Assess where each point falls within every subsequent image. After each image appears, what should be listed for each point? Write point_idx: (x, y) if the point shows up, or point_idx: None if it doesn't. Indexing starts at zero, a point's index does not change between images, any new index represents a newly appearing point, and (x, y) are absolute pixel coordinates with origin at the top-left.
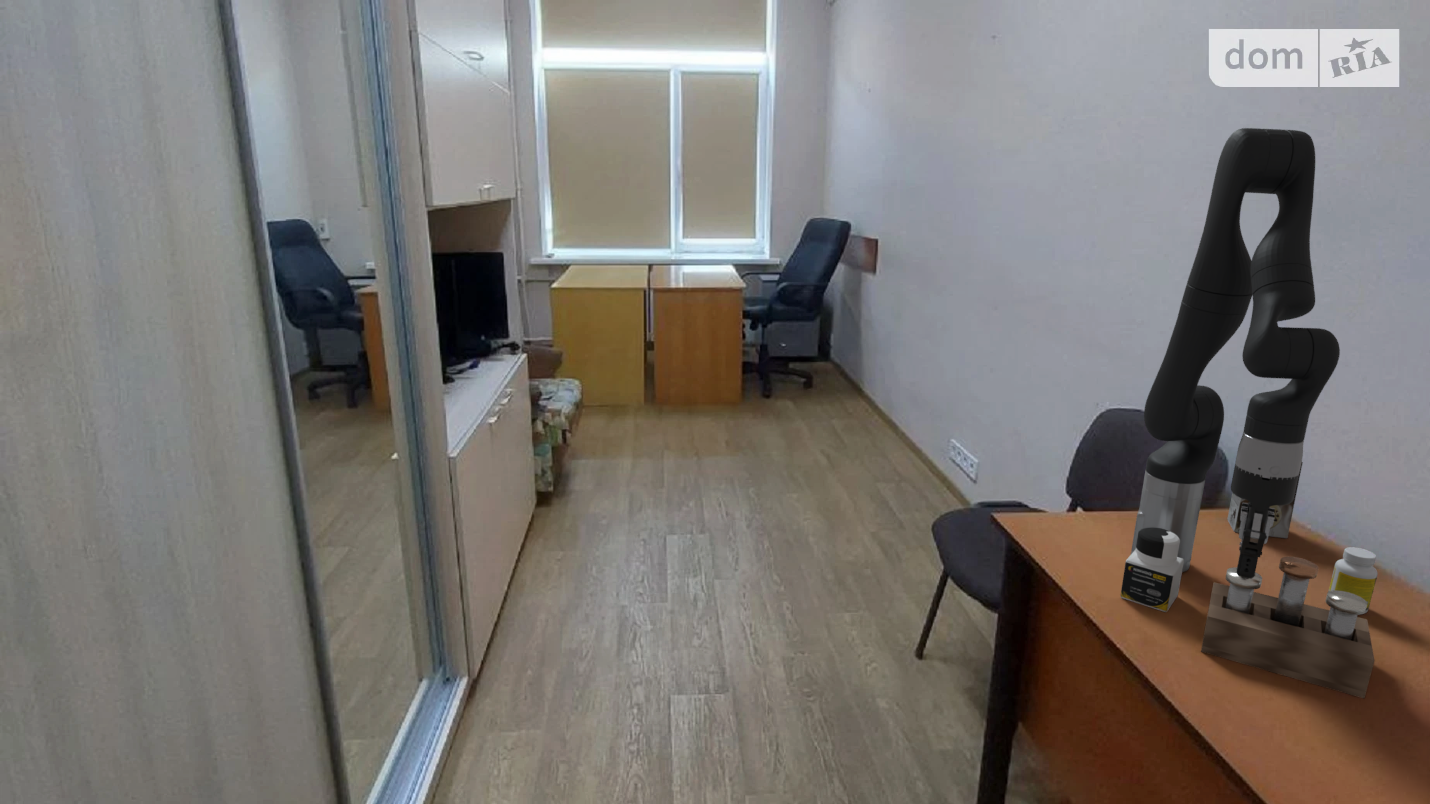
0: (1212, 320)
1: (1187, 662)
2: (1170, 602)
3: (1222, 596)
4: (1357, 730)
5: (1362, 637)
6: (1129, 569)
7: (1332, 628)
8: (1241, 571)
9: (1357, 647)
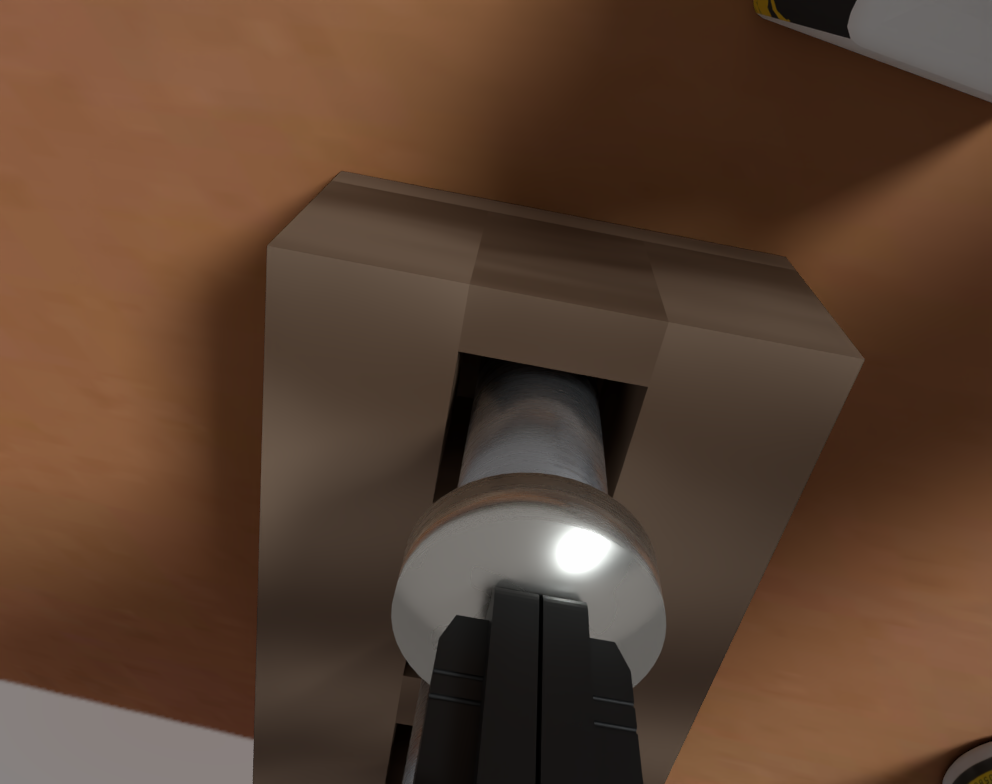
0: None
1: (184, 84)
2: (822, 39)
3: (636, 380)
4: (86, 599)
5: None
6: None
7: None
8: (444, 640)
9: None
